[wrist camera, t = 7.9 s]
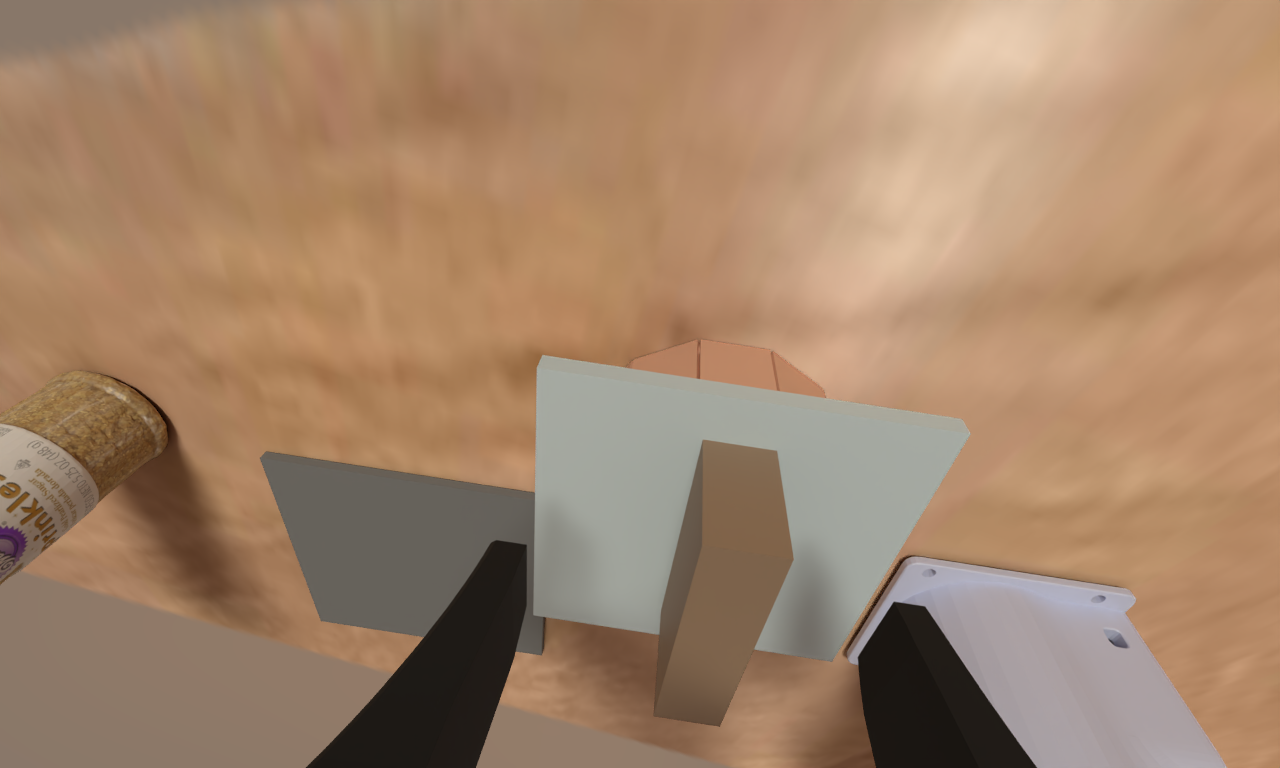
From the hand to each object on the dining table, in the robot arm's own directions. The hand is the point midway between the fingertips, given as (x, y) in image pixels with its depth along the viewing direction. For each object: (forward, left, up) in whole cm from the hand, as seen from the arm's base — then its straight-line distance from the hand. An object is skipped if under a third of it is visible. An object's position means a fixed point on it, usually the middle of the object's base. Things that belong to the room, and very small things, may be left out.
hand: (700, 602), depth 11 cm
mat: (+11, +14, -9) cm, 20 cm away
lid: (-1, +4, -5) cm, 7 cm away
